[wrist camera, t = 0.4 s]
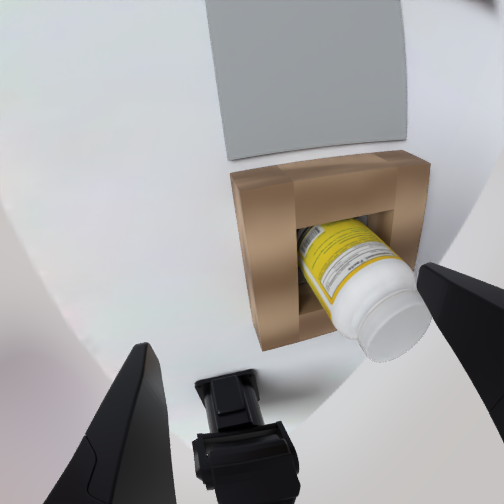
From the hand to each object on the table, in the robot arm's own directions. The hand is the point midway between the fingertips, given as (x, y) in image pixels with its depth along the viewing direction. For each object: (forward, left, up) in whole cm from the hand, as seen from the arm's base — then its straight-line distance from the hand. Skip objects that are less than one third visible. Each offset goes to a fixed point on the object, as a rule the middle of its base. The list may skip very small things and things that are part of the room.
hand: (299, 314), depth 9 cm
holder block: (-7, -7, -14) cm, 17 cm away
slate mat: (+8, -7, -14) cm, 17 cm away
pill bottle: (-7, -7, -14) cm, 17 cm away
